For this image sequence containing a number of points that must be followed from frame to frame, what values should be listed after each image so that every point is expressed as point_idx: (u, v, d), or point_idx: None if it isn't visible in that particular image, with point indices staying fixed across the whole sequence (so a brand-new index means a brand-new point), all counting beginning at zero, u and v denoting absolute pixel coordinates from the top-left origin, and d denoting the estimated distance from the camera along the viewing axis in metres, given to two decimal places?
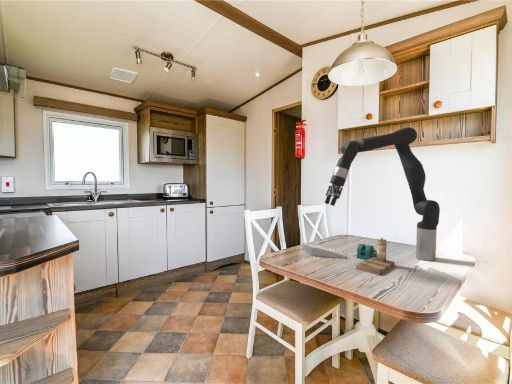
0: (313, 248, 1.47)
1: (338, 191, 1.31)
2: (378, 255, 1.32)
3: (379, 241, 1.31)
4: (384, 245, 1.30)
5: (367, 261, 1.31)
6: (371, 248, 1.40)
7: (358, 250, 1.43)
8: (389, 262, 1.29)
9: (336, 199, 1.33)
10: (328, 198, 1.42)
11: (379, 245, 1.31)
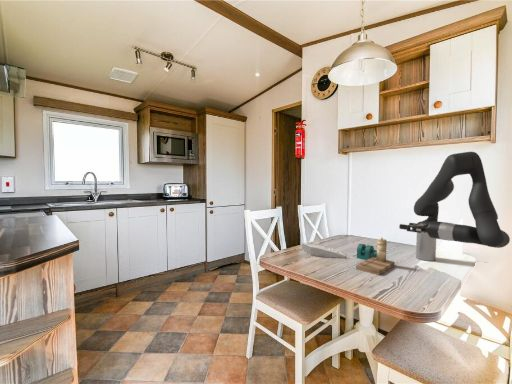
0: (312, 248, 1.47)
1: None
2: (378, 255, 1.32)
3: (379, 241, 1.31)
4: (384, 245, 1.30)
5: (367, 261, 1.31)
6: (371, 248, 1.40)
7: (358, 250, 1.43)
8: (389, 262, 1.29)
9: (418, 224, 1.22)
10: None
11: (379, 245, 1.31)
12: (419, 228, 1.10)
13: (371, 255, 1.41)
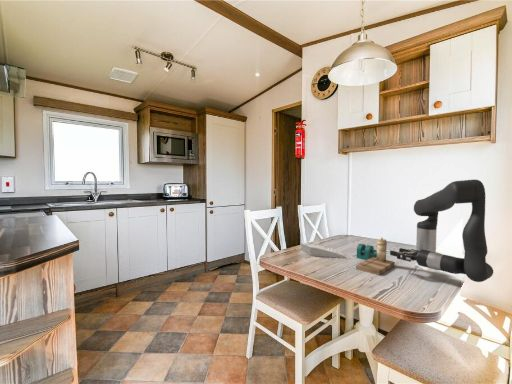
0: (312, 248, 1.47)
1: None
2: (378, 255, 1.32)
3: (379, 241, 1.31)
4: (384, 245, 1.30)
5: (367, 261, 1.31)
6: (371, 248, 1.40)
7: (358, 250, 1.43)
8: (389, 262, 1.29)
9: (408, 250, 1.26)
10: None
11: (379, 245, 1.31)
12: (409, 257, 1.14)
13: (371, 255, 1.41)
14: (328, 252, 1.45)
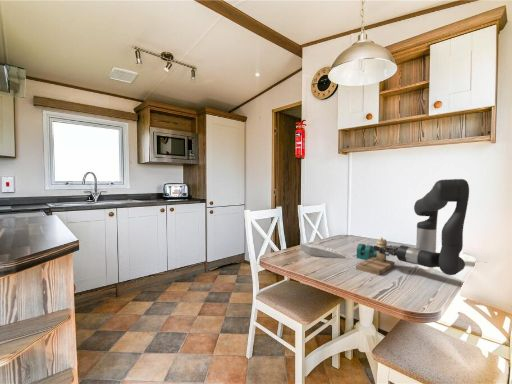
0: (311, 248, 1.47)
1: None
2: (378, 255, 1.32)
3: (379, 241, 1.31)
4: (384, 245, 1.30)
5: (367, 261, 1.31)
6: (371, 248, 1.40)
7: (358, 250, 1.43)
8: (389, 262, 1.29)
9: (387, 246, 1.33)
10: None
11: (379, 245, 1.31)
12: (387, 251, 1.23)
13: (371, 255, 1.41)
14: (327, 252, 1.45)
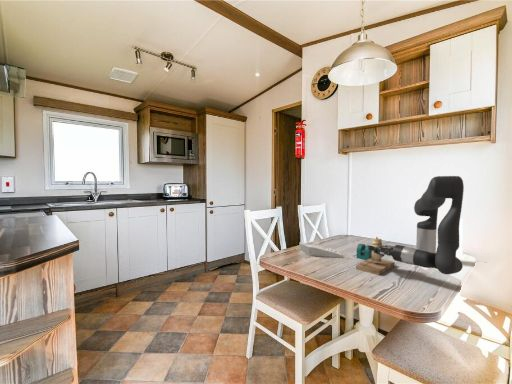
0: (310, 248, 1.47)
1: None
2: (373, 255, 1.27)
3: (374, 241, 1.26)
4: (379, 245, 1.25)
5: (367, 261, 1.31)
6: None
7: (358, 250, 1.43)
8: (389, 262, 1.29)
9: (382, 246, 1.29)
10: None
11: (374, 245, 1.26)
12: (381, 251, 1.18)
13: (371, 255, 1.41)
14: (326, 252, 1.45)
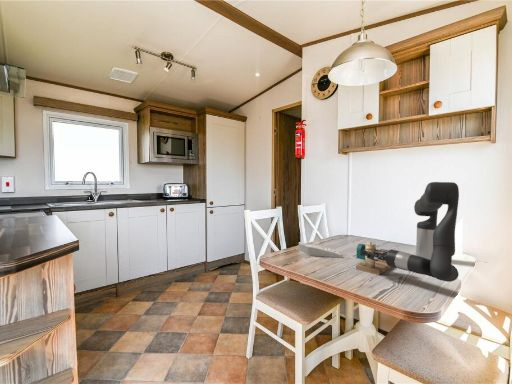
0: (309, 248, 1.48)
1: None
2: (367, 261, 1.22)
3: (368, 246, 1.21)
4: (373, 250, 1.21)
5: None
6: None
7: (358, 250, 1.43)
8: None
9: None
10: None
11: (368, 250, 1.21)
12: (376, 256, 1.13)
13: None
14: (326, 252, 1.46)
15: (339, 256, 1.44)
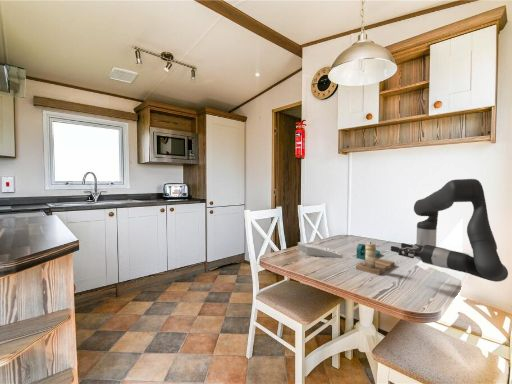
0: (309, 248, 1.48)
1: None
2: (366, 261, 1.22)
3: (367, 246, 1.21)
4: (373, 250, 1.20)
5: None
6: None
7: (358, 250, 1.43)
8: (389, 262, 1.29)
9: (411, 245, 1.14)
10: None
11: (367, 250, 1.21)
12: (411, 253, 1.03)
13: None
14: (325, 252, 1.46)
15: (338, 256, 1.44)
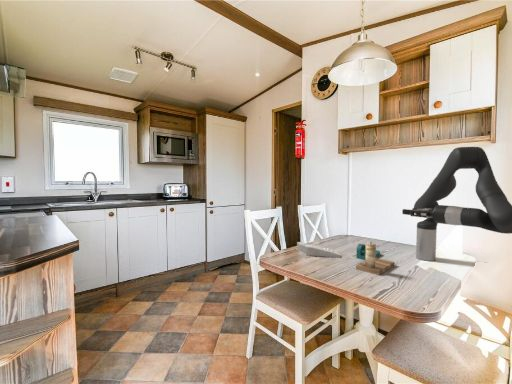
0: (308, 248, 1.48)
1: None
2: (367, 261, 1.22)
3: (368, 245, 1.22)
4: (373, 250, 1.21)
5: None
6: None
7: (357, 250, 1.43)
8: (389, 262, 1.29)
9: None
10: None
11: (368, 250, 1.22)
12: (424, 212, 1.03)
13: None
14: (324, 252, 1.46)
15: (338, 256, 1.45)
